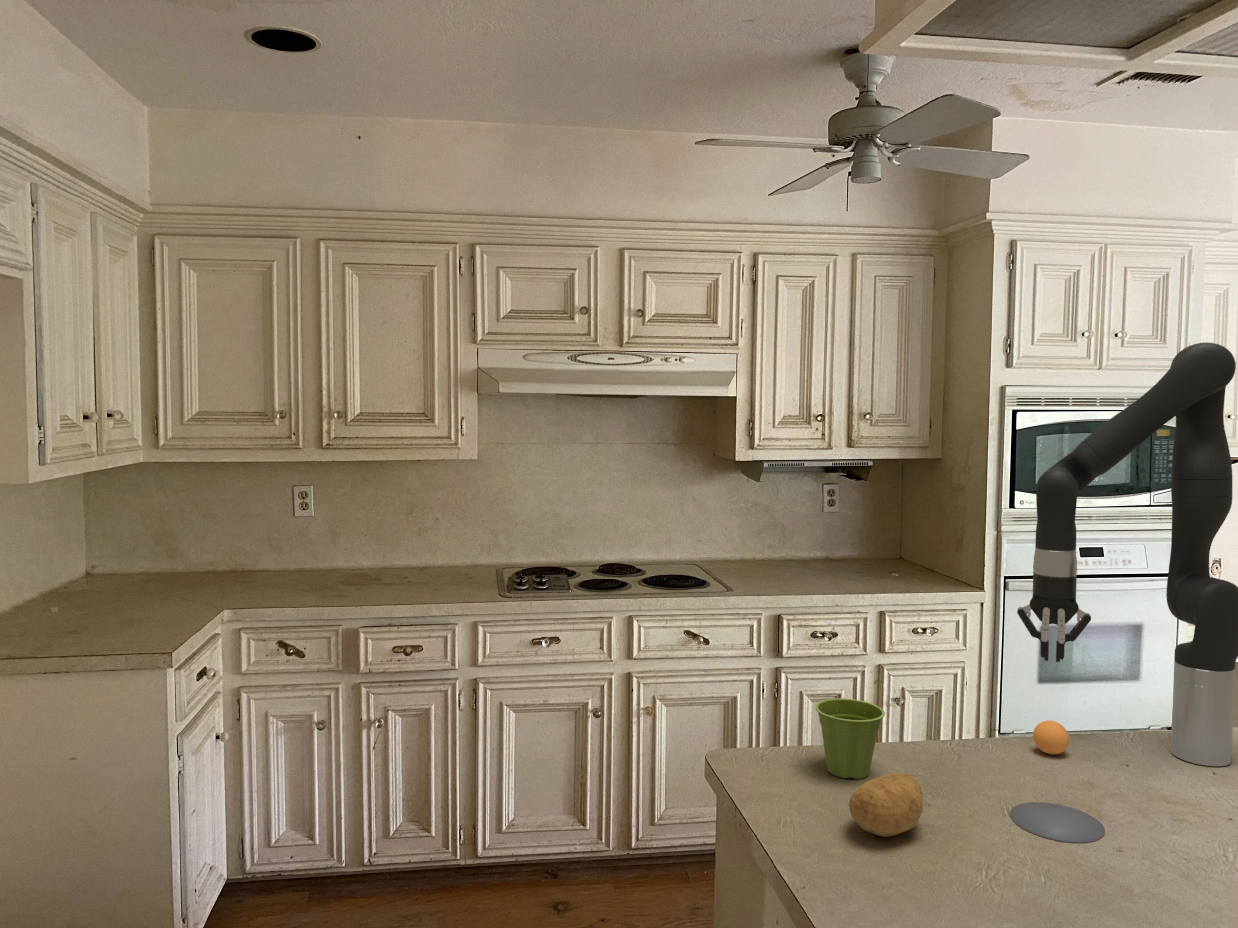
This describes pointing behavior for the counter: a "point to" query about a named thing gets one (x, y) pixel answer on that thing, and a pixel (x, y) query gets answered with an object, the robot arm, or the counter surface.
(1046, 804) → the disc
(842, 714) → the plant pot
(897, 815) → the potato
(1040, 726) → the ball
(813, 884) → the counter surface
